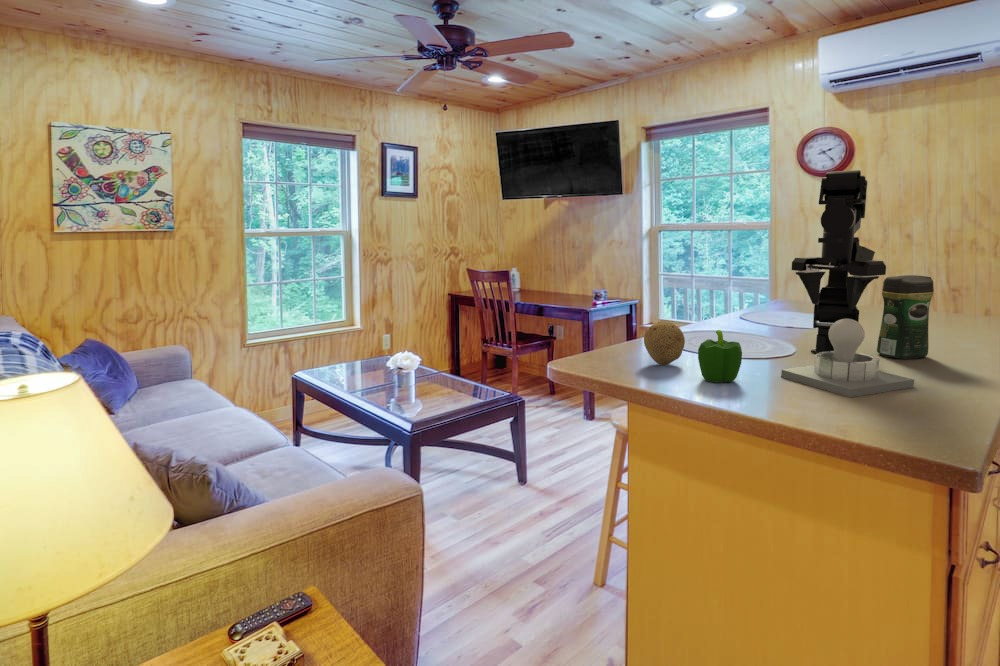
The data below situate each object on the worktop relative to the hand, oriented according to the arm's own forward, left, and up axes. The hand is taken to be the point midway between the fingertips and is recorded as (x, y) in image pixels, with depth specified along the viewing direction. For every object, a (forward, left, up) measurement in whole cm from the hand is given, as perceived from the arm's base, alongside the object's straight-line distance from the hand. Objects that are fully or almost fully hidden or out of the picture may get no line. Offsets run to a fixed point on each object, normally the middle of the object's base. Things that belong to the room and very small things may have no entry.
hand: (832, 306), depth 127 cm
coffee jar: (-22, 0, -13) cm, 26 cm away
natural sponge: (+31, -16, -13) cm, 37 cm away
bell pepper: (+29, 0, -13) cm, 32 cm away
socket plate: (+8, +11, -13) cm, 19 cm away
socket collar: (+8, +11, -12) cm, 18 cm away
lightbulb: (+8, +10, -12) cm, 18 cm away
